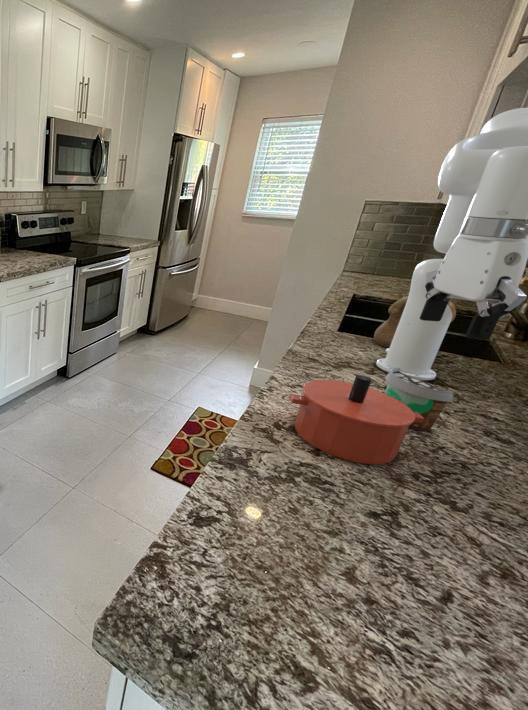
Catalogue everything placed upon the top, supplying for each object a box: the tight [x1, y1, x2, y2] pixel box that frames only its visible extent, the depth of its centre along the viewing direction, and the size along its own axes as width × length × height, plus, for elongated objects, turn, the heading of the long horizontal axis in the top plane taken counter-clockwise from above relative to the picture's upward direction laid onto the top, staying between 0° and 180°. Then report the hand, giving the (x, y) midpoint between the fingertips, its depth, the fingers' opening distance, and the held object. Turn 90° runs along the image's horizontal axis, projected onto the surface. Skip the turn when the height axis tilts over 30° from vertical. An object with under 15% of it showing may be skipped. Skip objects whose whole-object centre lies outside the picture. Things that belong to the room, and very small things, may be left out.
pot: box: [288, 393, 424, 465], centre depth 83 cm, size 17×22×8 cm
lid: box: [301, 374, 415, 427], centre depth 80 cm, size 18×18×6 cm
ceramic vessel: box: [373, 292, 457, 349], centre depth 126 cm, size 16×22×30 cm
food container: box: [384, 368, 454, 431], centre depth 90 cm, size 12×6×10 cm, turn 5°
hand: (451, 329), depth 72 cm, fingers open, 9 cm apart
